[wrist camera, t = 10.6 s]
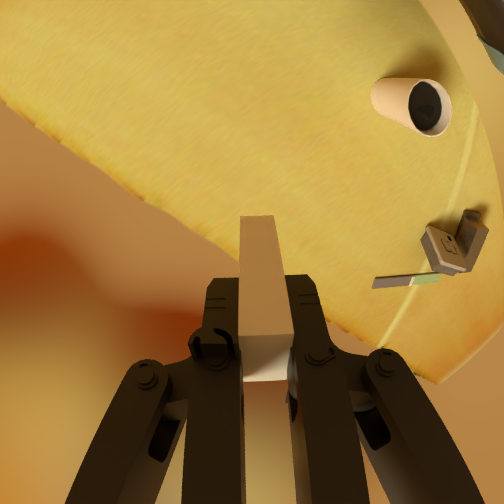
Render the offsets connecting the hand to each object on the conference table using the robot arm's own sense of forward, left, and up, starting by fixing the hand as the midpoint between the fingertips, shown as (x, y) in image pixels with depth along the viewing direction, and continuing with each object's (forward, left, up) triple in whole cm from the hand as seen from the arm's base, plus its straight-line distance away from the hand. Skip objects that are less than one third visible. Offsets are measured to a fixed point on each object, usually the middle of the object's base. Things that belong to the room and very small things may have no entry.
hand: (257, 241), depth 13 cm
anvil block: (+16, +42, -24) cm, 51 cm away
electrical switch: (+16, +34, -24) cm, 45 cm away
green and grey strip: (+26, +31, -24) cm, 47 cm away
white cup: (-7, +19, -24) cm, 32 cm away
